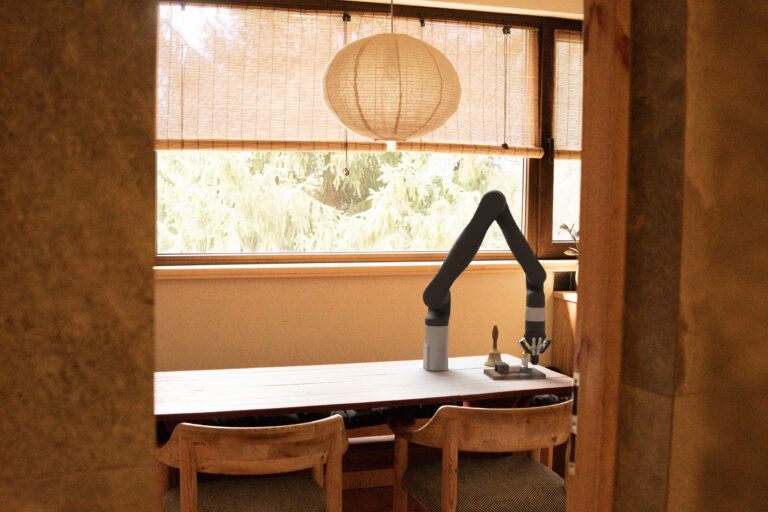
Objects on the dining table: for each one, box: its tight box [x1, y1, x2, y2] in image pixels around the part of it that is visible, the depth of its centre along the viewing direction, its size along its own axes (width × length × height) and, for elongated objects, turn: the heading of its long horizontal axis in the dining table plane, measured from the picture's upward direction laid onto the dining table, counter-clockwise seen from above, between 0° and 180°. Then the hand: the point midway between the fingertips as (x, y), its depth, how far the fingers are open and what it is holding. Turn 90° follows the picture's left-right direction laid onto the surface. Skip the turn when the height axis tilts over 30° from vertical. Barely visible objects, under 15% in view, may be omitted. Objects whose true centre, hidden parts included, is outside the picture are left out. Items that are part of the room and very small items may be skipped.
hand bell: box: [483, 324, 503, 368], centre depth 283 cm, size 8×8×16 cm
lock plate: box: [483, 361, 547, 381], centre depth 263 cm, size 20×12×5 cm, turn 100°
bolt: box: [509, 351, 529, 372], centre depth 263 cm, size 8×2×7 cm, turn 100°
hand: (534, 364), depth 265 cm, fingers closed
